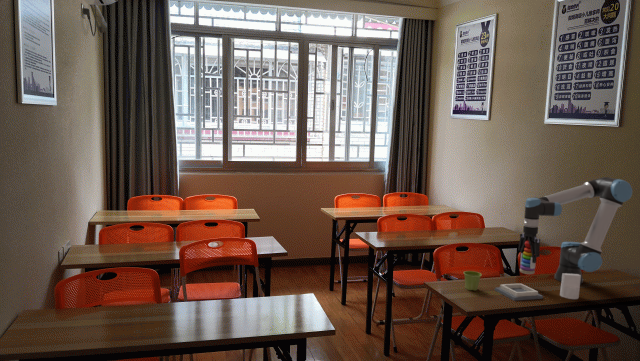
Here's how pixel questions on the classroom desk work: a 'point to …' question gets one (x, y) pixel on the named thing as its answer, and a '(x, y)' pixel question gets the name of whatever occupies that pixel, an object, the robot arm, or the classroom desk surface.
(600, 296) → the classroom desk surface
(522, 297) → the board
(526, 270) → the stacking toy
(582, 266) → the robot arm
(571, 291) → the cylinder with rectangular tab
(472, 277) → the plant pot
